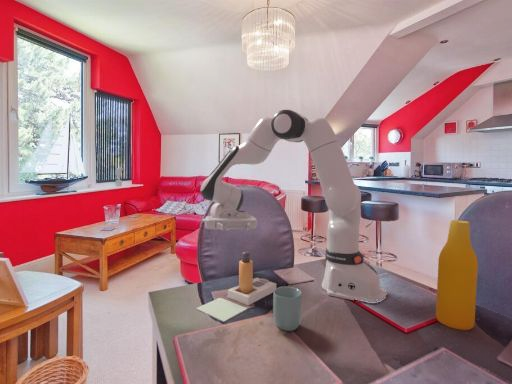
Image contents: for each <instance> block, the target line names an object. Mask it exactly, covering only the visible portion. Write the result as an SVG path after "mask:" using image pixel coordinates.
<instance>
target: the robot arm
mask: <svg viewBox="0 0 512 384" xmlns="http://www.w3.org/2000/svg"><path fill="white" fill-rule="evenodd" d="M280 140H285V141H287V142H291V143H301V142H304V144H305V145H306V148H307V150H308V152H309V155H310V157H311V160H312V163H313V165H314V169H315V170H316V173H317V176H318V180H319V184H320V185H319V186H320V188H321V191H322V195H323V198H324V200H325V205H326V206H327V208H328V209H329V214H328V215H329V216H328V222H327V227H326V229H327V232H326V233H327V235H326V237H327V239H326V248H325V257H324V258H325V268H324V274H323V280H322V283H321V287H322V289H323V290H324V291H326V294H327V295H328V296H332V297H335V298H340V299H345V300H351V301H354V299H357V300H363V301H368V302H377V301H380V300H382V299H384V298H385V297H386V295H387V296H388V291H386V290H387V289H386V288H384V289H385V290H384V289H383V287H381V281H380V277H379V275H378V274H377V273H376V272H375V271H374V270H373V269H371V268H370V267H369V266H368V264H366V263H365V262H364V261H365V259H364V258H365V257H366V253H363V254H362V253H361V251H360V249H359V246H360V245H359V242H360V240H359V239H360V237H359V236H360V219H361V206H362V204H361V203H362V193H361V189H360V187H359V186H358V185H357V184H355V182H354V179H353V177H352V173H351V171H350V168H349V165H348V161H347V160H346V159H347V158H346V157H345V154H344V152H343V148H342V147H341V144H340V142H339V139H338V137H337V135H336V133H335V131H334V130H333V127H332V126H331V124H330V123H329V122H328V120H327V119H326V118H323V117H317V118H316V117H315V118H313V119H311V120H309V119H308V118H306V116H304V115H302V114H301V113H298V112H297V111H295V110H292V109H282V110H278V111H277V112H276V113H275V114H274V115H273V117H268V116H265V117H261V118H260V119H258V122H257V123H256V124H255V126H253V128H252V130H251V131H250V133H249V134H248V136H247V138H246V139H245V140H244V141H243V143H241V144H239V145H235V146H234V145H233V147H232V148H231V149H230V150H229V151H228V152H227V153H226V154H225V156H224V157H223V158H222V159H221V160H220V162H218V164H217V165H216V167H215V168H214V169H213V170H212V172H211V173H210V174H209V175H208V176H207V177H206V178H205V179H204V181H203V182H202V183H201V186H200V189H199V191H200V194H201V196H202V198H203V199H204V200H206V201H210V202H214V203H213V204H212V206H211V207H210V213H209V214H210V215H207V216H205V217H204V218H202V219H201V221H202V223H204V227H205V229H207V230H221V231H232V230H246V231H250V230H251V229H252V230H255V229H257V227H258V219H257V218H256V217H255V216H253V215H252V214H249V212H248V211H245V210H240V209H241V207H242V205H243V203H244V193H243V190H242V188H241V187H238V186H236V185H234V184H232V183H229V182H227V181H224V180H222V178H223V177H224V176H225V175H226V173H228V171H229V170H230V169H231V168H232V167H233V166H236V165H253V166H254V165H258V164H262V163H264V162H265V161H266V160H267V159H268V157H269V156H270V155H271V152H272V150H273V148H274V147H275V146H276V144H277V143H278V142H279V141H280ZM382 291H386V292H382ZM386 298H387V297H386ZM376 299H378V300H376Z"/></svg>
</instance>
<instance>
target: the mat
mask: <svg viewBox="0 0 512 384" xmlns="http://www.w3.org/2000/svg"><path fill="white" fill-rule="evenodd" d="M195 309H196V310H197V311H199V312H201V313H203V314H206V315H207V316H210V317H211V318H214V319H216V320H218V321H221V322H223V323H225V322H227V321H229V320H230V319H233V318H234V317H236V316H238V315H239V314H240V315H241V314H242V313H243V312H245V311H247V310H248V307H245V306H242V305H240V304H237V303H234V302H232V301H230V300H228V299H224V298H222V297H218V298H216V299H214V300H211V301H209V302H207V303H204V304H203V305H201V306H198V307H196V308H195Z"/></svg>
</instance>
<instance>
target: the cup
mask: <svg viewBox="0 0 512 384" xmlns="http://www.w3.org/2000/svg"><path fill="white" fill-rule="evenodd" d="M272 311H273V313H272V314H273V321H274V323H275V326H276V327H277V328H278V329H280V330H281V331H283V330H284V332H293V331H295V330H296V329H298V328H299V326H300V324H301V321H302V320H301V319H302V314H303V292H302V290H301V289H300V288H297V287H295V286H286V285H285V286H284V285H283V286H279V287H276V289H275V290H274V292H273V296H272Z"/></svg>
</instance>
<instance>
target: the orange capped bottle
mask: <svg viewBox="0 0 512 384" xmlns="http://www.w3.org/2000/svg"><path fill="white" fill-rule="evenodd" d="M253 263H254V262H253V260H252V259H251V252H250V251H242V252H241V260H239V261H238V285H239V292H240V293H243V294H246V295H247V294H249V293H251V292H253V279H254V278H253V277H254V276H253V275H254V274H253V273H254V271H253V269H254V267H253V266H254V264H253Z"/></svg>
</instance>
